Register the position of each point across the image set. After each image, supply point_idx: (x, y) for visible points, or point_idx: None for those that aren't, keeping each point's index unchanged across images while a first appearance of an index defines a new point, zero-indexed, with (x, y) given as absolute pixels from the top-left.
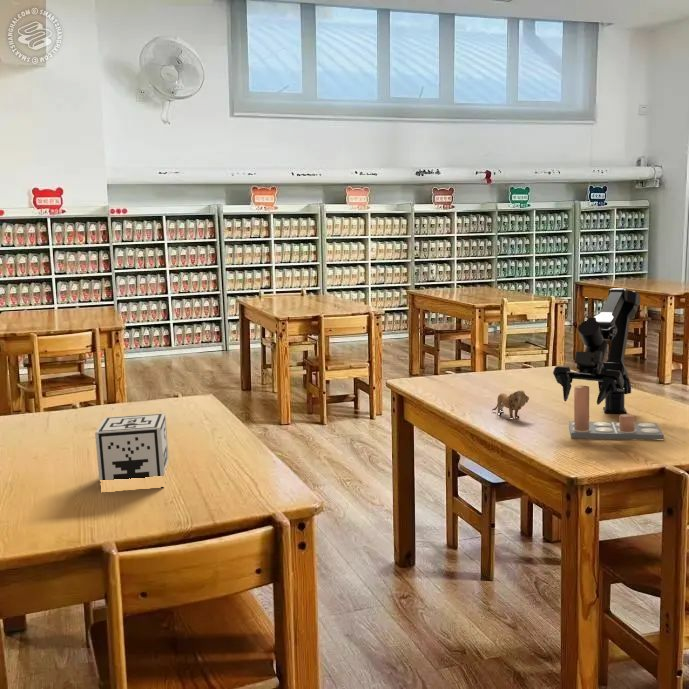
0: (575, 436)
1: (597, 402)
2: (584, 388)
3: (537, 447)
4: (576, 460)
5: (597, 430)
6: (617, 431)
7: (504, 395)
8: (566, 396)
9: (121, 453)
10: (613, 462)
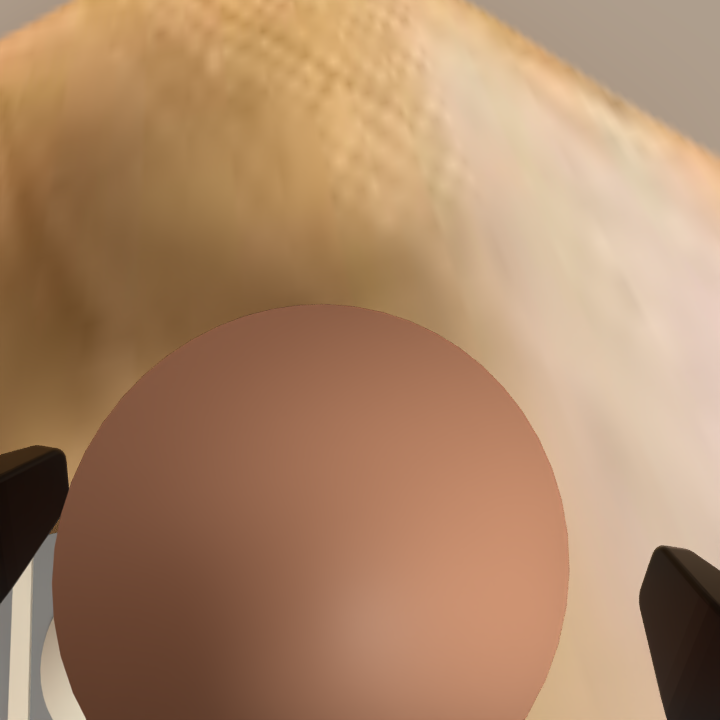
0: None
1: (46, 449)
2: (208, 336)
3: (567, 185)
4: (299, 55)
5: None
6: (6, 640)
7: None
8: (685, 623)
9: None
10: (116, 75)
